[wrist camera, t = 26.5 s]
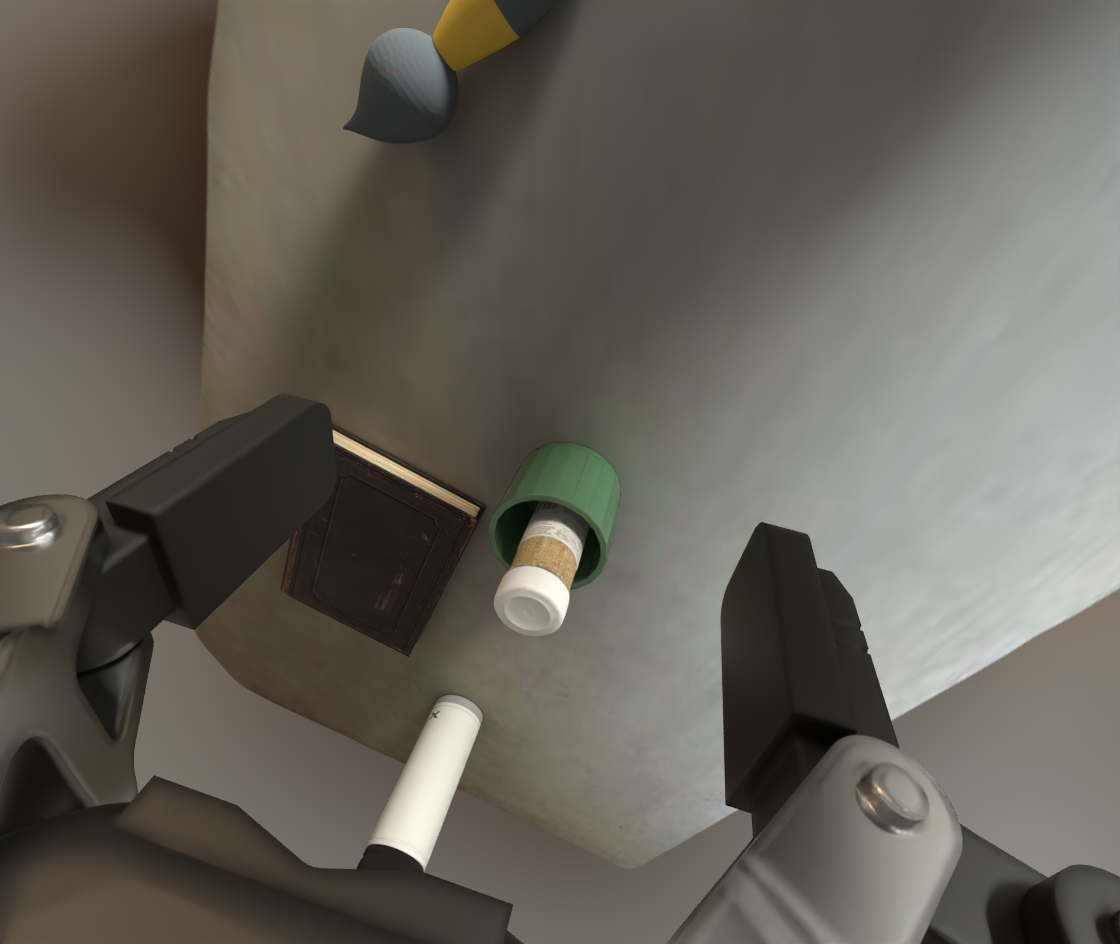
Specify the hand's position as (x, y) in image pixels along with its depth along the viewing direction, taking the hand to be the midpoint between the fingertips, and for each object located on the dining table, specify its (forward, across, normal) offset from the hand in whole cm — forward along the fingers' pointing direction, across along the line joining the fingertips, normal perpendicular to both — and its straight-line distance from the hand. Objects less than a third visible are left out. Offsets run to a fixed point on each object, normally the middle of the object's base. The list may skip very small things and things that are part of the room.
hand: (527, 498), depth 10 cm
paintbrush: (+28, +12, -9) cm, 32 cm away
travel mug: (+28, +10, +57) cm, 65 cm away
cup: (+28, +2, +20) cm, 34 cm away
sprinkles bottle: (+28, +2, +20) cm, 34 cm away
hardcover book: (+28, +20, +33) cm, 48 cm away
